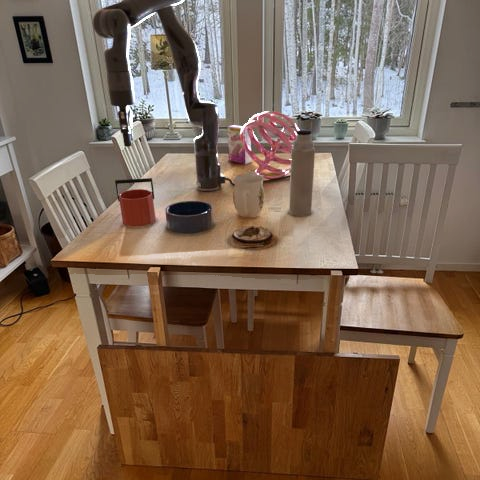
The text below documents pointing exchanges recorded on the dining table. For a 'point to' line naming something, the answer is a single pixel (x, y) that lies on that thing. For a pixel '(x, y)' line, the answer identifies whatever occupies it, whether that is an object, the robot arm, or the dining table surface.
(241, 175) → the pitcher
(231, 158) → the candy bar box
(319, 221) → the dining table surface
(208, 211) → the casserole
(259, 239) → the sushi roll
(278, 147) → the spiral basket
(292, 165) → the thermos bottle
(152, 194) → the red bucket
